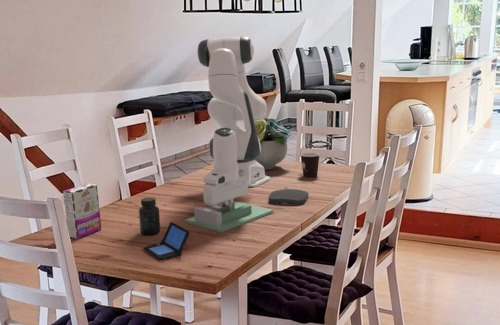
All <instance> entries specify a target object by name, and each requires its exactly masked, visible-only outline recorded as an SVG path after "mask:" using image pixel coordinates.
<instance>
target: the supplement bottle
mask: <svg viewBox="0 0 500 325" xmlns="http://www.w3.org/2000/svg"><path fill="white" fill-rule="evenodd" d="M156 204H157V202H156V198H155V197H143V198H141V199H140V205H141V206H140V207H139V209H138V221H139V233H140V235H141V236H143V237H154V236H157V235H160V233H161V218H160V209H159V206H157V205H156Z"/></svg>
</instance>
